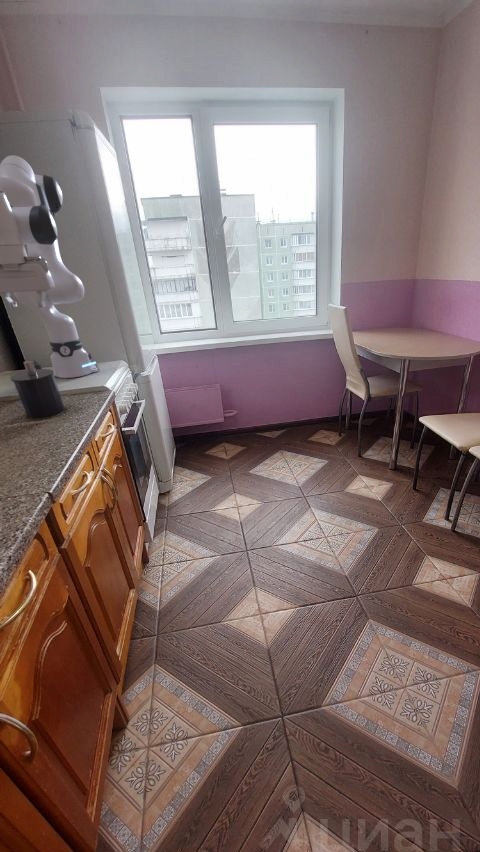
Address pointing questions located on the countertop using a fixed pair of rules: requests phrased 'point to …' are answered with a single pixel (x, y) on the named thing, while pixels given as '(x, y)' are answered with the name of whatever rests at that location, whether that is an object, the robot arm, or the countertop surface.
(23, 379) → the lid
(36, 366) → the salt shaker
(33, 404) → the canister
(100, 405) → the countertop surface
